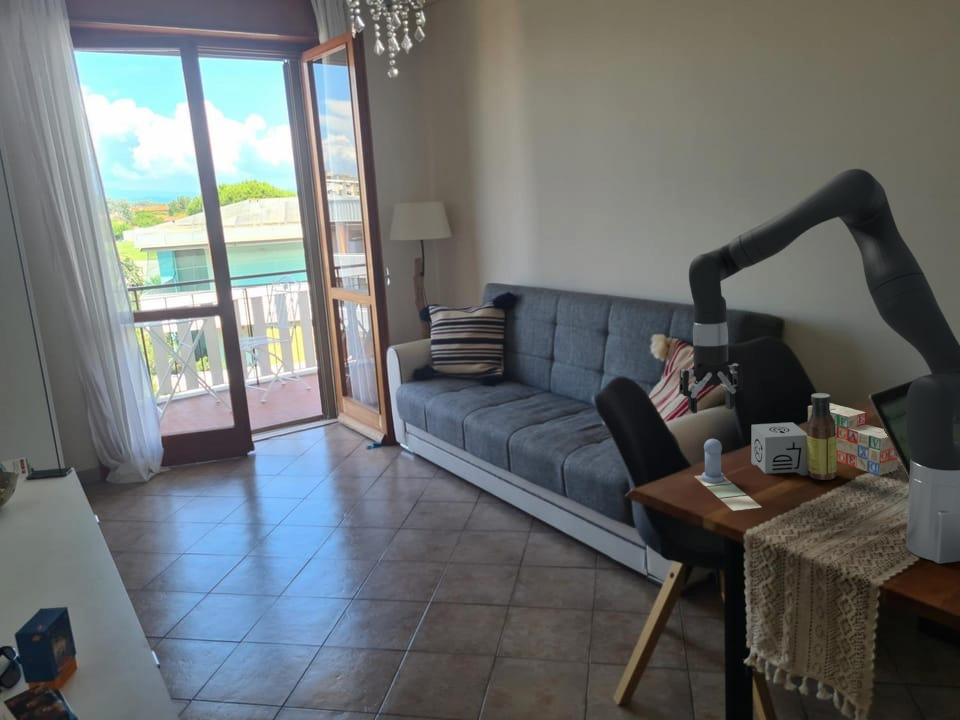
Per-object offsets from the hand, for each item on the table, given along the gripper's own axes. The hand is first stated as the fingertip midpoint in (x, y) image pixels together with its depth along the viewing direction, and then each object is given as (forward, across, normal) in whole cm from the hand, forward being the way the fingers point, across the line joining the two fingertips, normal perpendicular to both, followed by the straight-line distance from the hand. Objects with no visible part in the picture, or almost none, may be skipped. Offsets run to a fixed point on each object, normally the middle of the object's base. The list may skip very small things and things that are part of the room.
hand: (711, 410), depth 164 cm
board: (+18, 0, +7) cm, 19 cm away
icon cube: (+18, -19, -4) cm, 27 cm away
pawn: (+17, 0, 0) cm, 17 cm away
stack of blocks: (+18, -38, -4) cm, 42 cm away
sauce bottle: (+18, -25, +3) cm, 31 cm away
